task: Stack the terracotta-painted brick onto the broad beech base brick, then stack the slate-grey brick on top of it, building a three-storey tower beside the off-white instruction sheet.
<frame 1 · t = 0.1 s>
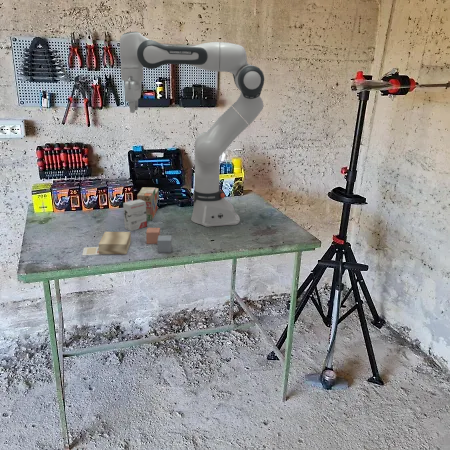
hand: (134, 111, 172), 48 cm above the workbench, fingers open, 8 cm apart
instruction sheet: (95, 250, 157), on the workbench
terracotta brick: (153, 241, 167), on the workbench
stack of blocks: (149, 213, 198), on the workbench
grey brick: (164, 249, 160), on the workbench
ink box: (135, 227, 180), on the workbench
base brick: (115, 247, 160), on the workbench, touching instruction sheet
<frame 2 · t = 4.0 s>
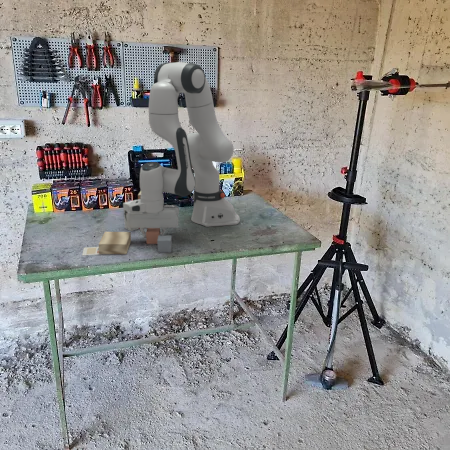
hand: (153, 237, 166), 2 cm above the workbench, fingers closed on terracotta brick, 5 cm apart
terracotta brick: (153, 241, 167), on the workbench, touching gripper
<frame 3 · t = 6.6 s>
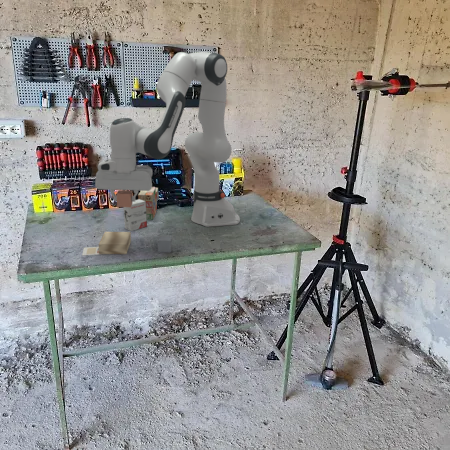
hand: (124, 201, 155), 19 cm above the workbench, fingers closed on terracotta brick, 5 cm apart
terracotta brick: (124, 205, 156), point 17 cm above the workbench, touching gripper
when the fingers open (7 cm above the workbench, at t = 9.2 s): terracotta brick drops 1 cm, resting on base brick.
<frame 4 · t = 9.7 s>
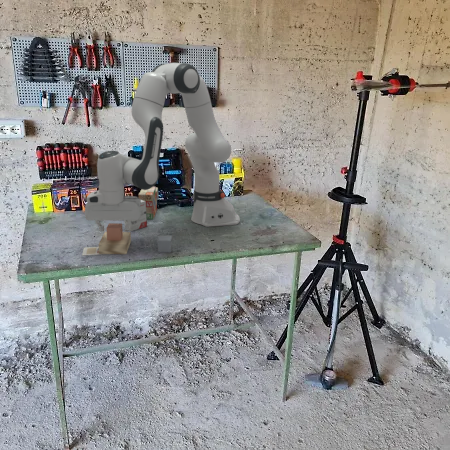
hand: (114, 230, 158), 7 cm above the workbench, fingers open, 8 cm apart
terracotta brick: (115, 237, 159), point 4 cm above the workbench, touching base brick
base brick: (115, 247, 160), on the workbench, touching instruction sheet, terracotta brick
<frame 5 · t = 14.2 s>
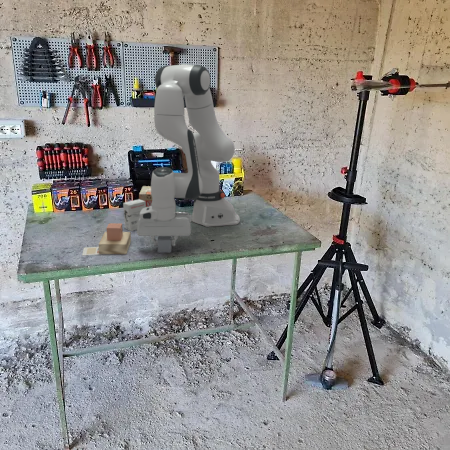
hand: (164, 245, 159), 2 cm above the workbench, fingers closed on grey brick, 5 cm apart
grey brick: (164, 249, 160), on the workbench, touching gripper
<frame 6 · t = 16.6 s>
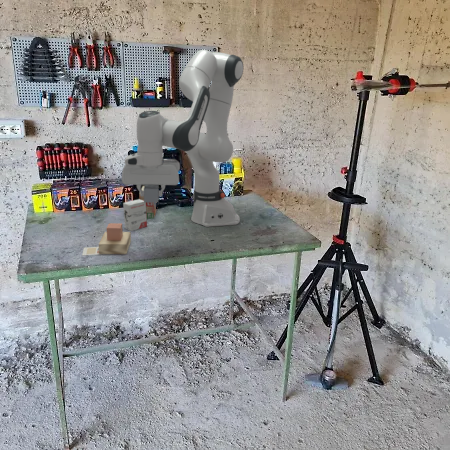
hand: (151, 196, 152), 22 cm above the workbench, fingers closed on grey brick, 5 cm apart
grey brick: (151, 200, 152), point 20 cm above the workbench, touching gripper
when the fingers open (12 cm above the workbench, at t = 19.4 s): grey brick drops 1 cm, resting on terracotta brick.
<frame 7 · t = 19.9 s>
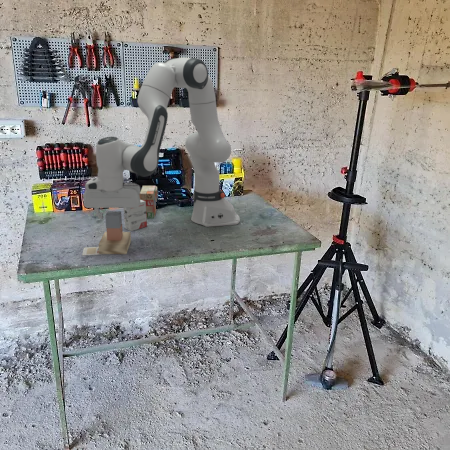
hand: (113, 218, 156), 12 cm above the workbench, fingers open, 8 cm apart
terracotta brick: (115, 237, 159), point 4 cm above the workbench, touching base brick, grey brick
grey brick: (114, 225, 157), point 9 cm above the workbench, touching terracotta brick
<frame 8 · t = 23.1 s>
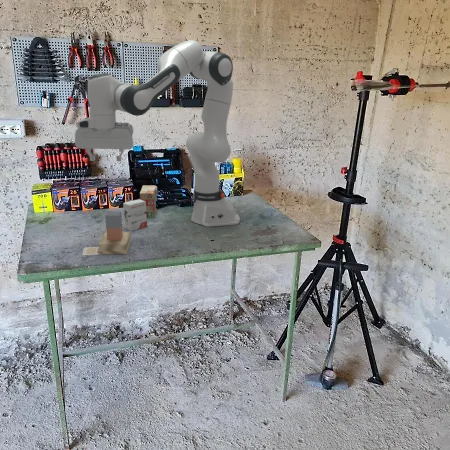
hand: (105, 160, 152), 33 cm above the workbench, fingers open, 8 cm apart
at the end: terracotta brick inside the target area on the base brick (0.1 cm from its centre), point 4.0 cm above the base brick's base; grey brick 0.0 cm off-centre on the terracotta brick, point 5.0 cm above the terracotta brick's base; the gripper is holding nothing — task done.
